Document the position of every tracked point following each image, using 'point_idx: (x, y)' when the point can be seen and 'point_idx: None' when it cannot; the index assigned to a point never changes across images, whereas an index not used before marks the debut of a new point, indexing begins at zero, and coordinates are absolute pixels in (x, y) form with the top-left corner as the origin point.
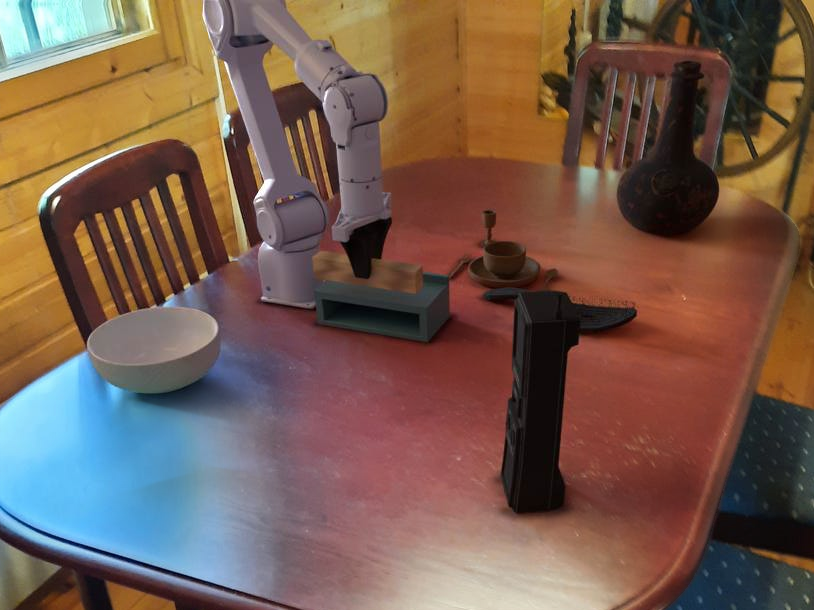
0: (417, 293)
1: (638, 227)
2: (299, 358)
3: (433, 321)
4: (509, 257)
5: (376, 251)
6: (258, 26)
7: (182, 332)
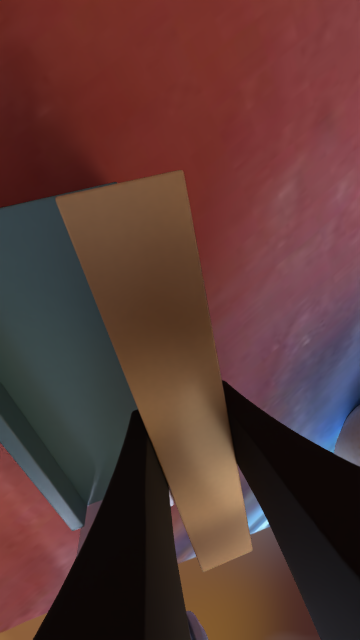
0: (51, 280)
1: None
2: (280, 352)
3: None
4: None
5: (150, 480)
6: None
7: None
